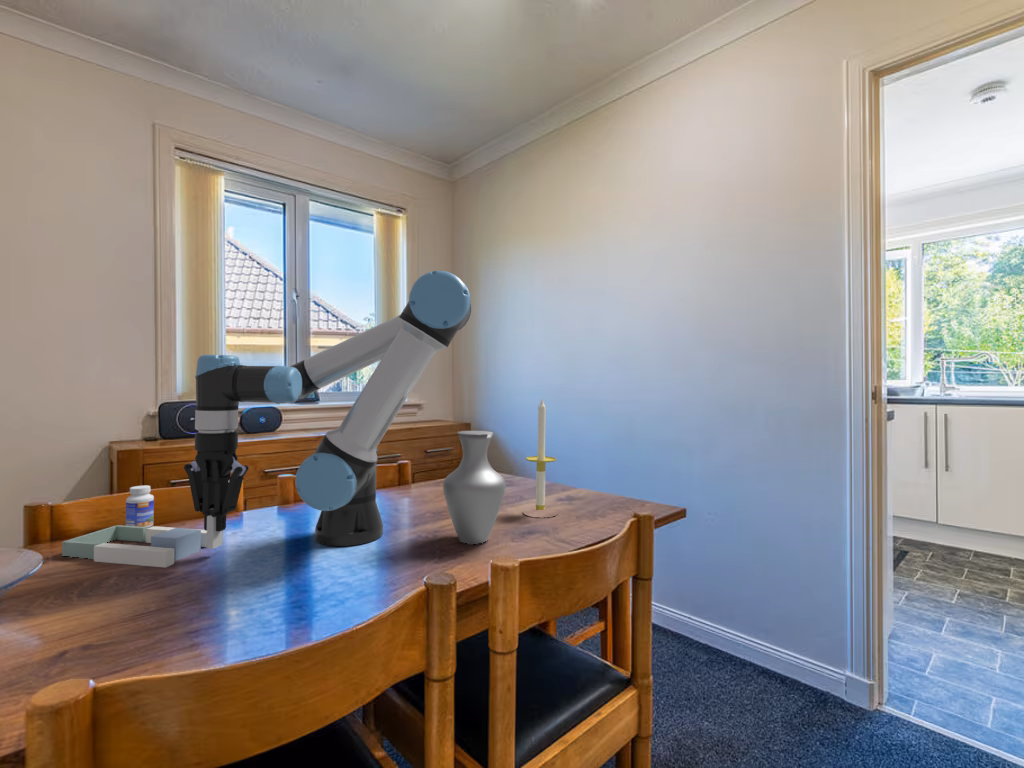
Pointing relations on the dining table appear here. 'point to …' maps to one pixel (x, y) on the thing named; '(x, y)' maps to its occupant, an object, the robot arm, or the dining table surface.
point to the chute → (140, 551)
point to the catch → (101, 540)
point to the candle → (541, 458)
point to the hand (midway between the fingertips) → (214, 546)
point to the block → (179, 541)
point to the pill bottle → (140, 507)
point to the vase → (474, 490)
